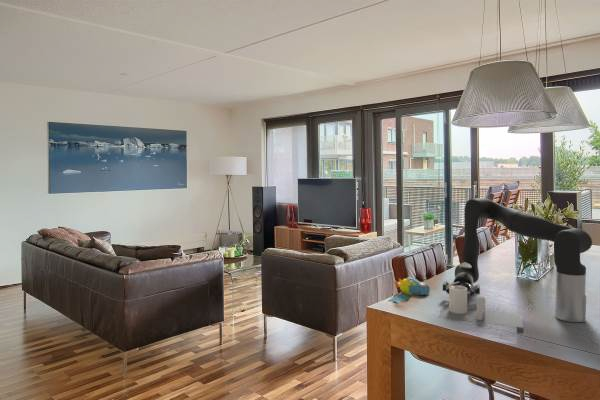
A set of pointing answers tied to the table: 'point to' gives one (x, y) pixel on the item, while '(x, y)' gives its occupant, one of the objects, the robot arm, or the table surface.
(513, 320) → the shaft board
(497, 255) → the table surface
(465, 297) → the keyed collar
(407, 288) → the blue and yellow toy
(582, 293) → the robot arm
